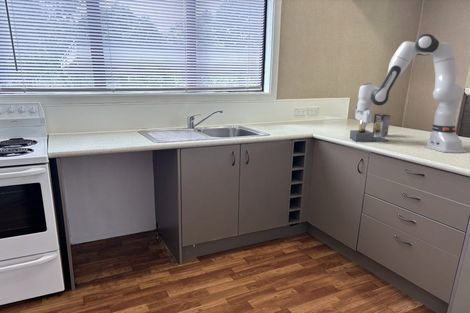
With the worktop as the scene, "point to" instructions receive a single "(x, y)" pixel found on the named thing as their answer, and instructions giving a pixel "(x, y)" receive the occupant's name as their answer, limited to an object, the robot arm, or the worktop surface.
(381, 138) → the mat
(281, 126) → the worktop surface
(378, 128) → the coffee box
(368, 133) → the chuck block
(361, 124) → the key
